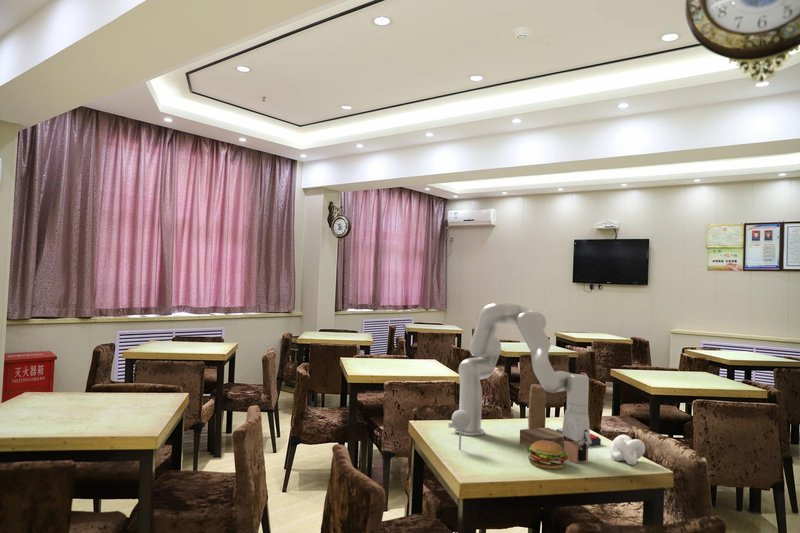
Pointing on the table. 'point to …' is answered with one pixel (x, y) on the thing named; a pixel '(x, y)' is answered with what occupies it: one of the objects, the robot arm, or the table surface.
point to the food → (547, 454)
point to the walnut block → (540, 436)
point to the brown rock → (537, 407)
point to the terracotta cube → (573, 451)
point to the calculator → (594, 439)
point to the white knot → (627, 449)
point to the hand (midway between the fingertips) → (575, 457)
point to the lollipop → (460, 421)
